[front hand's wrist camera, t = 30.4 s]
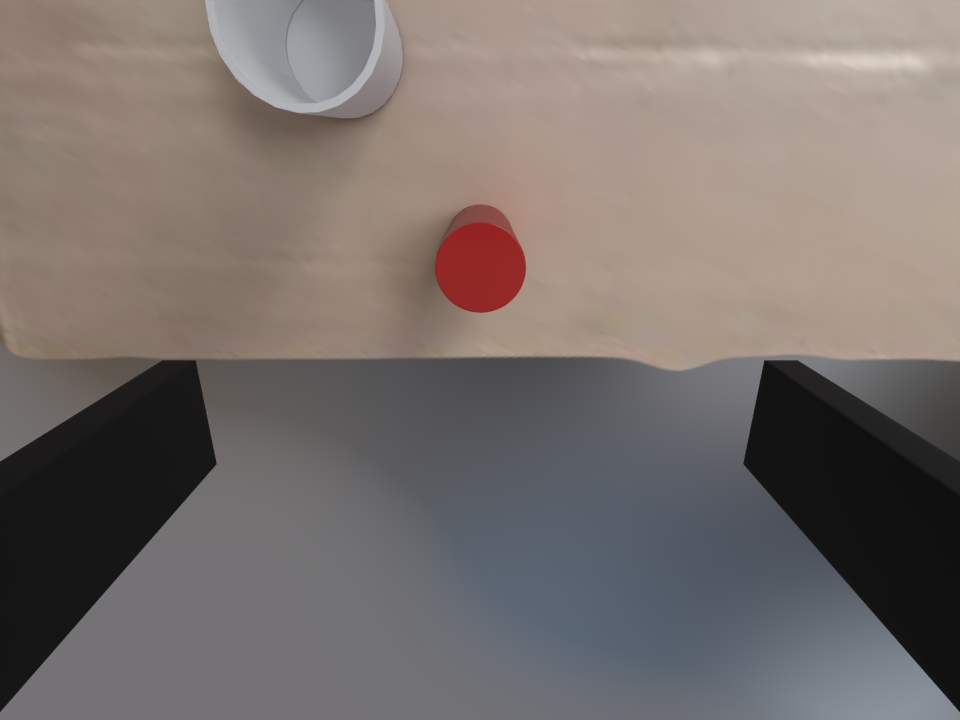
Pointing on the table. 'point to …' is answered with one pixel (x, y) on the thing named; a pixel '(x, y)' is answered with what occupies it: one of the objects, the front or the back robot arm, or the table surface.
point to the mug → (311, 52)
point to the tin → (480, 260)
